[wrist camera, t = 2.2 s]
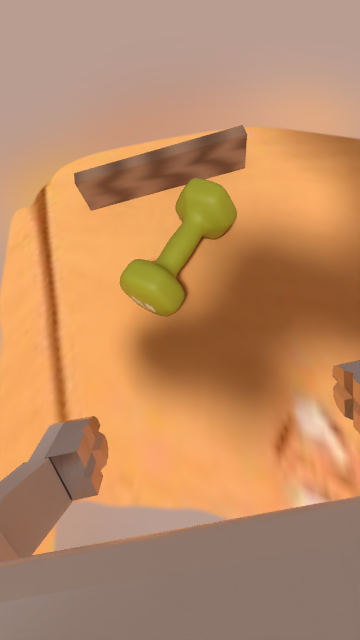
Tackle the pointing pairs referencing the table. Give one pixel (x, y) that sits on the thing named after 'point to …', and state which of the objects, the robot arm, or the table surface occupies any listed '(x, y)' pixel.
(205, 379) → the table surface
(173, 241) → the dumbbell
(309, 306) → the table surface
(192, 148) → the walnut board
